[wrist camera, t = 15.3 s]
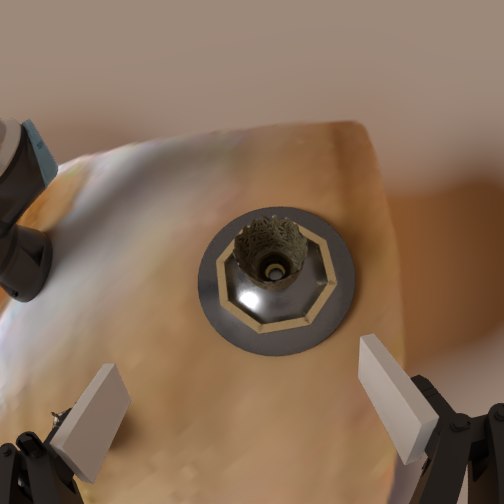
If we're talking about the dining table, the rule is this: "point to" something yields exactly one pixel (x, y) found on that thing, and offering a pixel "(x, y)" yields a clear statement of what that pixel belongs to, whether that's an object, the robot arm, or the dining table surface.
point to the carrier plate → (281, 301)
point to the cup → (271, 251)
